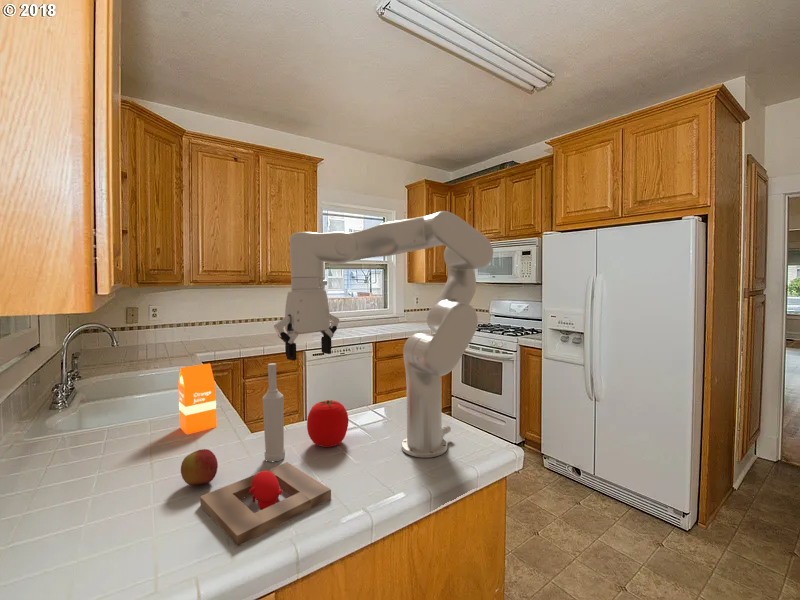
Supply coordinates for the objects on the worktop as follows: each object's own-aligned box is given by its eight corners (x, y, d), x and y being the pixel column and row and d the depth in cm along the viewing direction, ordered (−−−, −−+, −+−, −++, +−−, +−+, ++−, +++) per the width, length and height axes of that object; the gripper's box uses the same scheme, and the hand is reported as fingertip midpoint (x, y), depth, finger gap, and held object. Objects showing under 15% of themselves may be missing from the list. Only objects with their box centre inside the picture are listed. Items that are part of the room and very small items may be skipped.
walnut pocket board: (287, 470, 94) (287, 462, 94) (331, 498, 82) (330, 489, 82) (200, 505, 80) (200, 496, 80) (237, 546, 67) (237, 535, 67)
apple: (222, 473, 93) (221, 441, 92) (213, 491, 85) (212, 456, 85) (188, 477, 91) (186, 444, 91) (175, 496, 83) (174, 460, 83)
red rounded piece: (244, 482, 83) (241, 480, 78) (271, 466, 85) (270, 463, 80) (260, 517, 80) (258, 518, 75) (287, 500, 83) (286, 499, 78)
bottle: (279, 463, 97) (275, 366, 96) (260, 462, 98) (257, 366, 97) (288, 454, 102) (286, 362, 101) (271, 453, 103) (268, 361, 102)
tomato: (329, 456, 101) (328, 409, 100) (298, 447, 107) (296, 402, 106) (358, 439, 111) (357, 397, 111) (328, 431, 117) (327, 391, 117)
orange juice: (179, 427, 122) (176, 365, 121) (209, 420, 128) (206, 361, 127) (186, 434, 116) (183, 369, 115) (217, 426, 122) (214, 365, 121)
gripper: (328, 284, 100) (330, 349, 101) (265, 285, 87) (268, 360, 88) (346, 284, 95) (347, 352, 96) (282, 286, 82) (285, 365, 83)
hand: (309, 356), depth 92 cm, fingers open, 9 cm apart
